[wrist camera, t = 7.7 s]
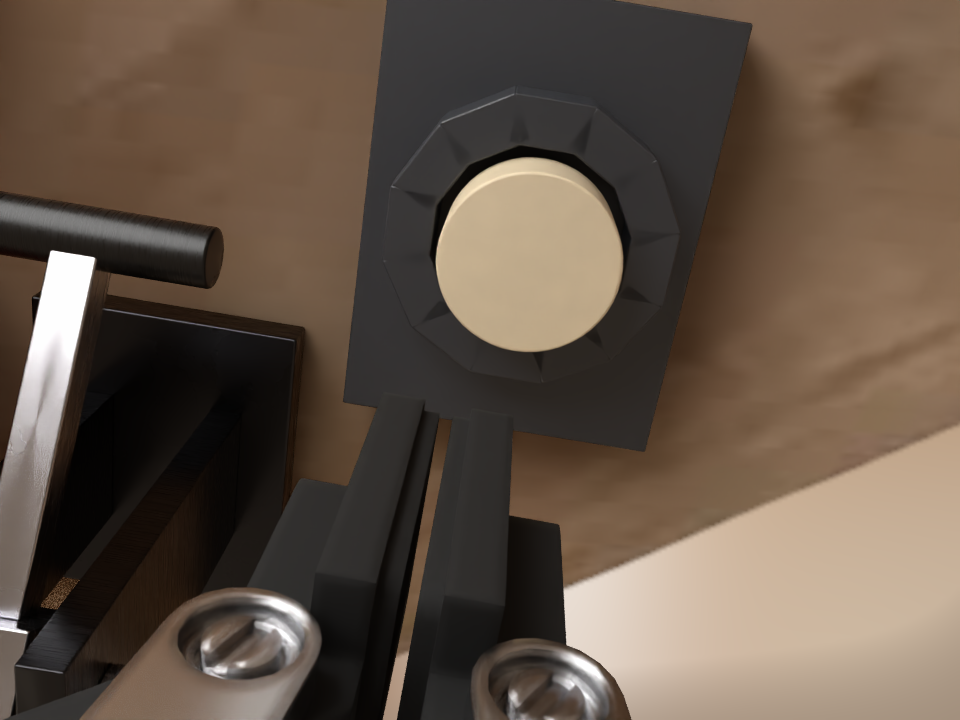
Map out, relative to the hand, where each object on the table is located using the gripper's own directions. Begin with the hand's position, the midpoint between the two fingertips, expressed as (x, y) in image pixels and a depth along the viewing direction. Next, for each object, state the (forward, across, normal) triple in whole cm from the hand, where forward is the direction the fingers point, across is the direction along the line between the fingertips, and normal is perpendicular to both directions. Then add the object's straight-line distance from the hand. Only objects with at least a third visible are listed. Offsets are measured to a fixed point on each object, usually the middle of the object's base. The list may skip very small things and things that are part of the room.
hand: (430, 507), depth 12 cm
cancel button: (+13, -1, 0) cm, 13 cm away
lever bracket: (+16, +9, +9) cm, 21 cm away
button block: (+16, -1, 0) cm, 16 cm away
